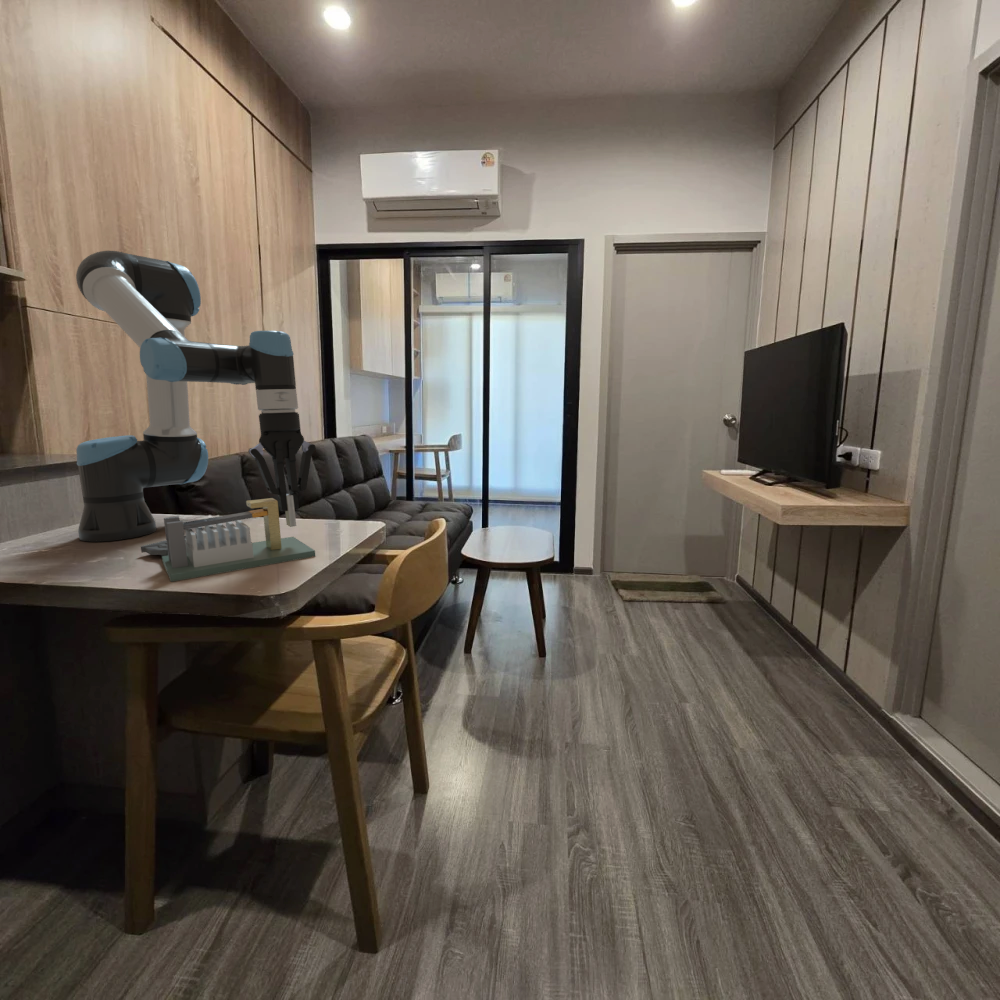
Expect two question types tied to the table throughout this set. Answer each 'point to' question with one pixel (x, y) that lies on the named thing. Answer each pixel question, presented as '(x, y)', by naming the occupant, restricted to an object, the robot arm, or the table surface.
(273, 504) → the block
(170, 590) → the table surface
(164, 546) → the graphics card
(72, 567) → the table surface
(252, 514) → the strap
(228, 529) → the board
